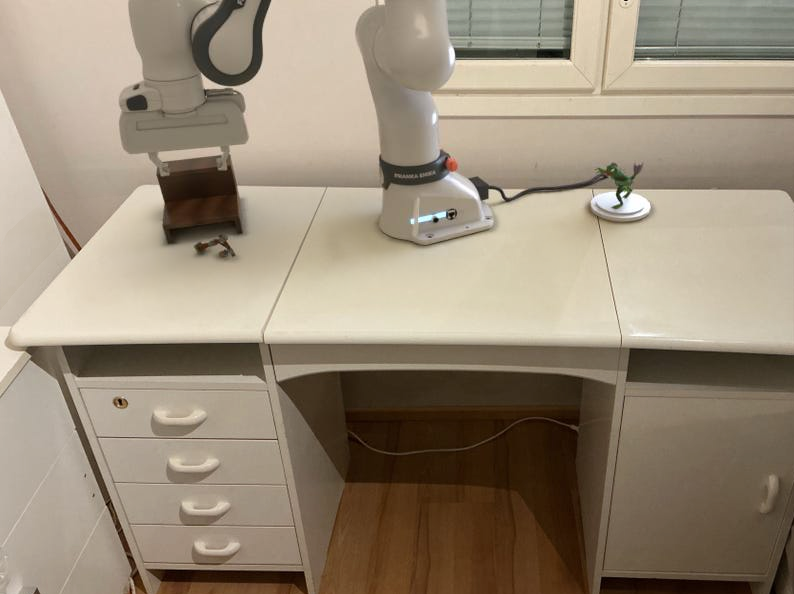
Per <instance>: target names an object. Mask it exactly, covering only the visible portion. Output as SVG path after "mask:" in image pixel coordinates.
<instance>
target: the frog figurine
mask: <svg viewBox="0 0 794 594" xmlns="http://www.w3.org/2000/svg"><path fill="white" fill-rule="evenodd" d="M604 166H605V167H606V169H604V168H601V167H599V166H597V168H595V169H594V170H595V171H596V173H595V174H596V175H598V174H600V173H601V175H602V174H606V175H607V176H609V178H610V179H612V180H613V181H614V184H615V186H616V187H617V188H616V191H608V192H607V191H606V192H603V193H599V194H597V195H595V196H594V197H592V198H591V200H590V206H589V208H590V211H591V212H592V213H593V214H594V215H595V216H597V217H599V218H601V219H603V220H607V221H612V222H618V223H619V222H620V223H621V222H622V223H625V222H627V223H628V222H634V221H639V220H642V219H644V218H646V217H647V216H648V215H649V214H650V211H651V203H650V202H649V200H648V199H647V198H645V197H644V196H642V195H639V194H636V193H632V192H633V191H634V188H632V187H631V185H632V184H634V180H635V178H636V177H637V176H638V175H639V174H640V173H641V171H642V169H643V167H644V162H642V164H640V163H639V164H638V165H636V163H634V164H633V174H632V175H631V176H629V175H625V172H623V171H624V170H626V169H625V168H624V169H623V167H620V168H619V166H618V163H616V162H612V163H611V164H610V165H604ZM597 170H598V171H597ZM599 176H600V175H599Z"/></svg>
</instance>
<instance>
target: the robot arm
mask: <svg viewBox="0 0 794 594" xmlns="http://www.w3.org/2000/svg"><path fill="white" fill-rule="evenodd" d="M383 1H384V4H376V5H372V6H370V7H368V8H366V10H364V11H363V12H362V13H361V15H360V16H359V18H358V20H357V22H356V26H355V29H354V30H355V31H354V37H355V42H356V45H357V47H358V50H359V51H360V55H361V58H362V61H363V65H364V69H365V74H366V78H367V82H368V87H369V90H370V93H371V97H372V101H373V104H374V109H375V114H376V121H377V130H378V140H379V150H380V154H379V156H378V171H379V179H380V184H381V187H382V202H381V212H380V218H379V222H378V226H379V229H380V230H381V232H383V233H384V234H385V235H387V236H389V237H391V238H394V239H398V240H404V241H411V242H412V243H415V244H418V245H421V246H427V245H432V244H436V243H439V242H440V243H441V242H445V241H448V240H452V239H457V238H459V237H464V236H468V235H471V234H475V233H479V232H483V231H488V230H490V229H492V227H493V226H494V223H495V222H494V221H495V219H494V215H493V211H492V210H491V208H490V206H489V205H488V204H487V203H486V202H485V201H486V200H489V199H490V198H489V197H490V191H489V190H495V191H497V192H499V193H500V196H501V198H502V200H504V201H505V202H512V201H514V200H517V199H519V198H521V197H522V196H524V195H526V194H529V193H532V192H542V191H545V192H546V191H559V190H567V189H573V188H579V187H582V186H586V185H589V184H592V183H594V182H595V181H596V180H598V179H599V178H601V177H602V178H605V179H609V178H610V176H607V175H606V173H605V174H602V175H601V173H600V172H599V173H597V174H596V175H595V176H594V177H592V178H590V179H589V180H584V181H582V182H577V183H571V184H564V185H556V186H555V185H554V186H538V187H530V188H527V189H523V190H522V191H520V192H519V193H517V194H516V195H514V196H512V197H508V196H506V193H505V192H504V190H503V189H502V188H501V187H499V186H495V185H490V184H489V183H487V182H486V181H484V180H483V179H482V178H481V177H479V175H477V176H473V177H466V176H464V175H462V174H460V173H459V172H457V169H458V168H459V164H458V162H456V159H455V158H453V157H452V156H451V155H450V153H448V152H446V151H445V150H444V149H443V147H441V145H440V144H441V143H440V141H441V140H440V122H439V121H440V120H439V112H438V108H437V105H436V103H435V101H434V99H433V95H432V93H431V92H434V91H437V90H439V89H440V88H442V87H443V86H445V85H446V84H447V83H448V81H449V80H450V79H451V77H452V75H453V72H454V71H455V66H456V52H455V49H454V46H453V44H452V41H451V38H450V37H451V36H450V33H449V25H448V9H447V0H383ZM271 3H272V0H128V2H127V7H128V9H127V10H128V17H129V23H130V28H131V33H132V38H133V42H134V46H135V49H136V51H137V53H138V54H139V56H140V59H141V65H142V69H141V71H142V73H141V74H142V78H143V80H141V81H138V82H135V83H133V84H131V85H128V86H126V87H124V88H122V90H121V92H120V94H119V97H118V105H119V108H120V110H121V112H120V115H119V118H118V126H119V127H118V128H119V129H118V130H119V136H120V137H119V138H120V140H121V141H120V142H121V146H122V149H123V150H124V151H125V152H126V153H128V155H139V154H147V155H148V156H147V157H148V159H149V160H150V161H151V162H152V163H153V164H154V166H156V168H157V167H159V171H160V174H161V176H170V169H169V164H168V163H163V162H164V161H162V160H161V159H160V158H159V153H161V152H163V153H164V152H173V151H184V150H185V151H186V150H195V149H197V150H198V149H207V148H218V147H219V148H220V151H221V153H222V154H221V155H222V157H221V158H217V161H216V162H217V166H218V171H225V170H227V165H226V160H227V157H228V155H229V154H230V153H231V150H230V149H231V146H240V145H241V146H242V145H246V143H247V142H248V141H249V138H250V137H249V129H248V125H247V121H246V118H245V115H244V113H245V111H246V101H245V97H244V95H243V94H242V93H241V91H238V90H236V89H234V88H233V87H238V86H242V85H245V84H246V83H249V82H250V81H252V80H253V79H254V78H255V77H256V76H257V74H258V73H259V71H260V69H261V67H262V64H263V58H264V45H263V44H264V43H263V29H264V24H265V20H266V17H267V14H268V11H269V8H270V6H271ZM202 75H203V76H204V77H205V78H206V79H207V80H209V81H210V82H212V83H214V84H217V85H219V86H222V87H224V88H205V86H204V81H203V76H202ZM599 175H600V176H599Z"/></svg>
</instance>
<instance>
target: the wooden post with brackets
mask: <svg viewBox="0 0 794 594" xmlns="http://www.w3.org/2000/svg"><path fill="white" fill-rule="evenodd" d="M228 240H229V236H228V235H226V234H224V235H223V234H219V235H218V237H217V238H214V239H212V240H210V241H208V242H203V243H202V241H198V242H196V243H195V244H194V245H193V248H194V249H195V251H196V253H197V255H200V254H203V252H205V251H206V249H208V248H212V247H216V246H217V245H220V246H222V247H224V248H225V249H223V250H221V251H219V252H218V257H220V258H224V257H227V256H228V255H230V256H231V258H234V257H236V256H237V255H236V253H235V251H234V249H233V248H232V246H231V245H230V244H229V242H228Z"/></svg>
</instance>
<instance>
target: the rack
mask: <svg viewBox="0 0 794 594" xmlns="http://www.w3.org/2000/svg"><path fill="white" fill-rule="evenodd" d="M221 157H222V154H217V155H209V156H201V157H191V158H184V159H175V160H166V161H162V162H163V163H168V164H169V169H170V176H161V174H160V171H159V167H157V166H156V173H155V175H156V178H157V181H158V185H159V189H160V193H161V196H162V199H163V203H164V204H163V213H162V225H161V226H162V229H163V233H164V236H165V239H166V243H167V244H170V245H171V244H174V235H175V229H178V228H179V229H181V228H187V227H188V228H189V227H195V226H203V225H209V224H216V223H225V222H231V221H232V222H233V221H234V223H235V230H236V232H237V233H236V234H237V235H242V234H244V230H243V218H242V206H241V197H240V193H239V188H238V184H237V179H236V174H235V169H234V166H233V165H234V164H233V161H232V155H231V154H230V153H229V155H228V157H227V160H226V165H227V170H225V171H218V166H217V162H216V161H217V158H221Z"/></svg>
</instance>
